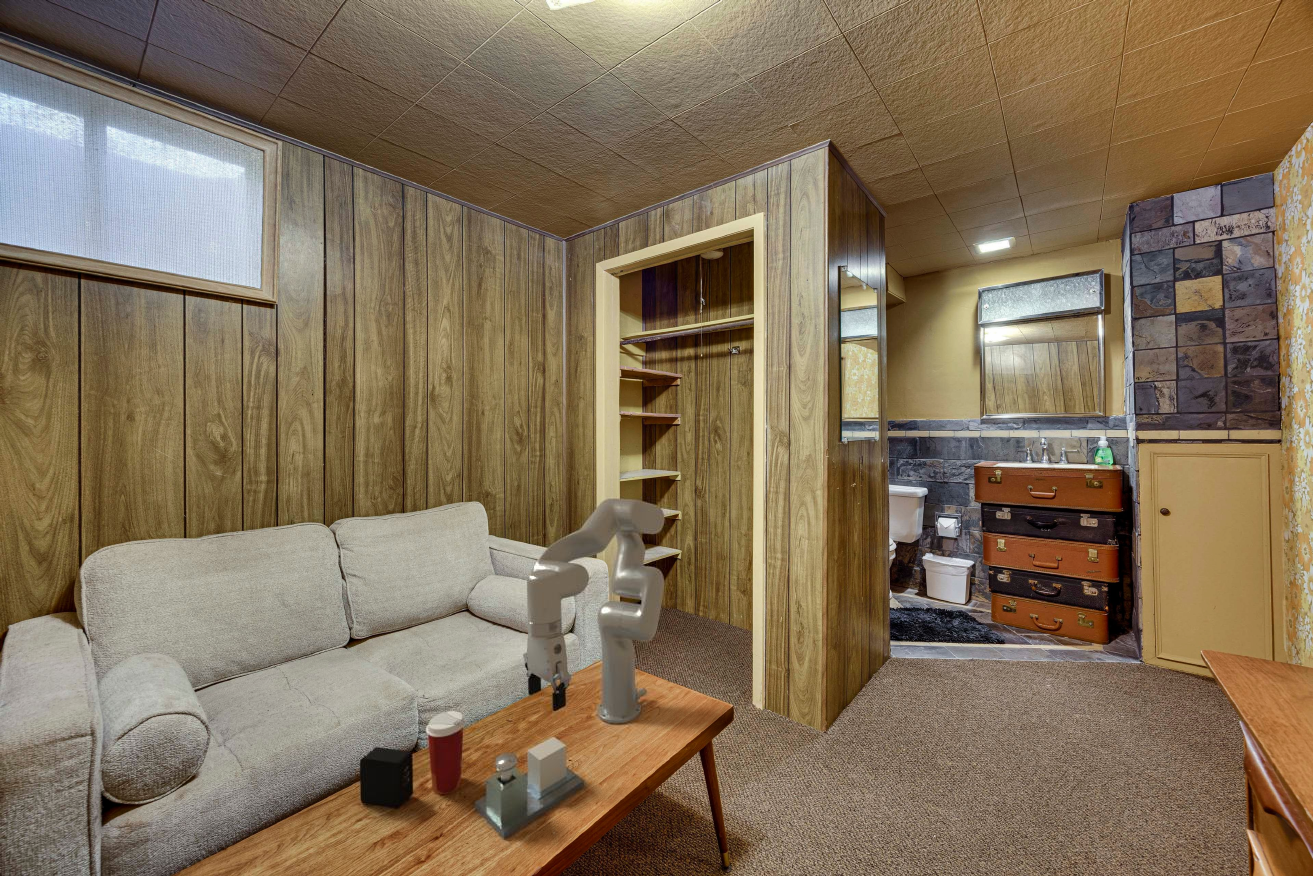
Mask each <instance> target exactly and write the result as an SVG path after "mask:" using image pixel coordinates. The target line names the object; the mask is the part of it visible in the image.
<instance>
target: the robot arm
mask: <svg viewBox="0 0 1313 876" xmlns="http://www.w3.org/2000/svg"><path fill="white" fill-rule="evenodd" d="M664 524H665V513H664V511H663V509H662V507H660V506H659V505H657V504H654V503H650V502H646V501H643V500H639V499H633V498H632V499H630V498H607V499H605V500H603V501H602V502H600V504H599V505H598V506H597V507H596V508H595V510H594V511H593V512H592V513H591V515H590V516H589V518H588V519H587V520H586V521H585V522H584V524H583V525H582V527H581V528H580V529H578V530H576V531H574V532H572V533H570V534H568V535H566V536H564V537H562V538H560V539H558V540H556V541H555V542H553V543H551V545H549V546H548V547H547V548H546V549H545V550H544V551H543V552H542V553H541V555H540V556H539V557H538V559H537V560H536V562H535V563H534V564H533V567H532V569H531V573H529V574H528V576H527V579H526V598H527V599H526V600H527V601H526V602H527V604H526V605H527V644H526V645H527V646H526V652H524V653H523V655H522V657H523V661H524V667H525V670H526V673H525V674H526V677H527V684H528V685H527V692H528V695H529V696H533V695H535V694H537V693H539V692H541V691H542V680H544V681H545V682H548V683H549V684H551V687H552V690H553V692H552V694H551V696H552V697H551V701H552V703H551V704H552V710H553V712H557V711H558V710H560V709H562V708H564V707H566V705H567V695H566V692H567V691H566V690H568V688H569V686H570V682H571V680H572V679H571V678H572V675H571V674H570V673H569V669H568V668H569V667H568V656H567V655H568V654H567V646H566V641H565V636H564V632H563V631H562V630H563V625H562V624H563V623H562V600H563V599H567V598H568V599H569V598H571V597H576V596H578V595H580V594H582V593H583V592H584V591H585V589H587V587H588V585H589V583H590V582H589V581H590V575H589V572H588V569H587V568H586V567H585V566H583V565H582V564H578V563H575V562H573V561H575V560H576V561H577V560H578V559H582V558H587V557H591V556H594V555H595V556H596V555H598V554H600V553H602V552H604V551H605V550H606V549H607V547H608V546H609V544H610V543H611V541H612V540H613V539H614V537H616V542H617V550H616V557H615V561H614V565H613V569H612V570H613V571H612V575H611V580H610V590H611V592H612V594H614V595H615V596H618V597H623V598H627V599H635V600H641V604H639V603H632V602H627V601H619V600H611V601H607V602H604V603H603V604H602V605H601V607H599V610H598V612H597V625H598V631H599V635H600V643H601V690H602V691H601V693H602V694H601V696H602V698H601V702H600V703H599V704H598V706H597V708H596V712H597V714H596V715H597V717H598V718H599V719H600V720H601V721H603V722H605V723H609V724H625V723H629V722H632V721H633V720H635V719H637V718H639V716H640V715H641V712H642V707H641V703H640V702H639V700H640V698H641V697H643V696H645V695H648V694H647V693H648V691H647V689H646V687H642V688H640V689H639V690H638V688H637V687H636V659H635V658H636V653H635V647H634V642H633V641H639V642H650V641H651V640H653V638H654V637H655V635H656V633H657V629H658V626H659V620H660V615H661V610H662V609H661V608H662V603H663V596H664V590H665V578H664V575H663V573H662V571H661V570H660V569H659V568H657V567H655V566H648V565H647V566H646V565H644V563H645V556H646V546H645V544H644V542H643V540H642V538H641V536H640V534H649V535H655V534H658V533H660V532H661V531H662V529H663V527H664ZM556 675H557V676H556ZM557 681H559V684H558V685H557Z"/></svg>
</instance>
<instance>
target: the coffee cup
mask: <svg viewBox="0 0 1313 876" xmlns="http://www.w3.org/2000/svg"><path fill="white" fill-rule="evenodd" d="M465 723H466V719H465V718H464V717H463V714H462V713H461V712H459V711H454V710H452V711H444V712H441V713H439V714H436V715H434V716H433V717H432V718H431V719H430V720H429V722H428V724H427V726H426V728H425V732H426V734H427V736H428V737H427V739H428V751H429V752H428V753H429V762H430V763H429V764H430V765H429V766H430V776H431V778H430V779H431V786H432V791H433V792H434V793H435V794H437V795H444V794H449V793H451V792H453V791H454V790H456V789H458V788H459V786H460V784H461V782H462V780H461V779H462V766H463V765H462V764H463V745H464V744H463V743H464V741H463V740H464V726H465Z"/></svg>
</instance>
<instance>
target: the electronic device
mask: <svg viewBox="0 0 1313 876" xmlns="http://www.w3.org/2000/svg"><path fill="white" fill-rule="evenodd" d="M413 757H414V756H413V753H412V752H411V751H409V750H403V749H394V748H386V747H381V746H379V747H375V748H373V749H370V750H369V751H368V753H367V754H364V755H363V757H362V758H360V761H359V783H360V785H359V787H360V788H359V789H360V797H359V798H360V802H361V803H362V804H363V803H366V804H365V805H368V804H370V805H369V806H374V805H375V806H374V807H380V806H381V807H382V808H388V809H395V810H399V809H400V808H401V807H403V805H404V804H405V803H406V802H407V801H408V800H409V799H410V797H412V796H413V794H414V773H413V772H414V766H413V765H414V763H413Z"/></svg>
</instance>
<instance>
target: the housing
mask: <svg viewBox="0 0 1313 876" xmlns="http://www.w3.org/2000/svg"><path fill="white" fill-rule="evenodd" d="M526 752H527V753H526V754H527V758H526V759H527V772H528V782H529V783H531V784H532V785H533V786H534V787H535V788H536V789H538V790H539V791H540V792H541V791H543V790H544V789H546V788H547V787H549V786H551V785H552V784H554V783H556V782H557V781H559V780H560V779H562V778H564V777H565V776H566V767H567V745H566V744H565V743H563V742H562V741H561V740H559V739H557V738H556V737H555V736H552V737H549V738H548V739H546V740H544V741H542V742H541V743H539V744H537V745H535V746H533V747H531V748H530V749H527V750H526Z"/></svg>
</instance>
